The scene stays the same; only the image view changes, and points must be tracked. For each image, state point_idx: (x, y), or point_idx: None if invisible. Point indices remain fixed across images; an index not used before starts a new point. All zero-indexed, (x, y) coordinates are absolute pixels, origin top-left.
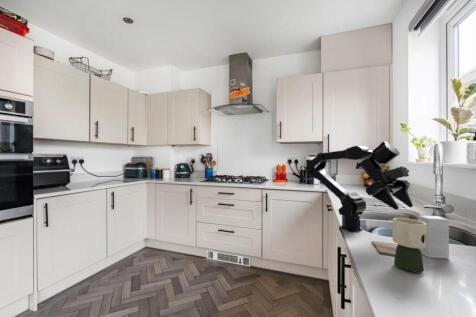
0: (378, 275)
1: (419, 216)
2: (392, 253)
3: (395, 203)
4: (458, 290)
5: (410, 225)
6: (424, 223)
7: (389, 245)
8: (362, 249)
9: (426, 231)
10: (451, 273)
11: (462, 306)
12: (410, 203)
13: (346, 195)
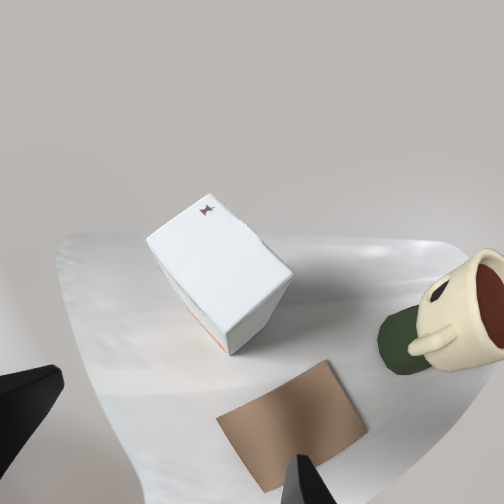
0: None
1: (238, 324)
2: (347, 405)
3: (318, 488)
4: (410, 255)
5: None
6: (487, 253)
7: (266, 439)
8: (367, 474)
9: (275, 304)
10: (339, 268)
11: (450, 250)
12: (43, 381)
13: None
